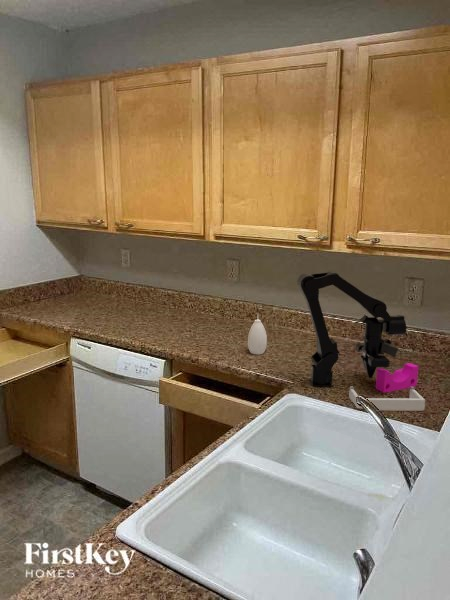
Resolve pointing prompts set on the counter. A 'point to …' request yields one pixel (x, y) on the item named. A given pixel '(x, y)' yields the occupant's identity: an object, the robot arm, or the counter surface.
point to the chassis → (394, 402)
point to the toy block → (397, 378)
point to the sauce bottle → (257, 338)
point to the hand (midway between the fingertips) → (370, 377)
